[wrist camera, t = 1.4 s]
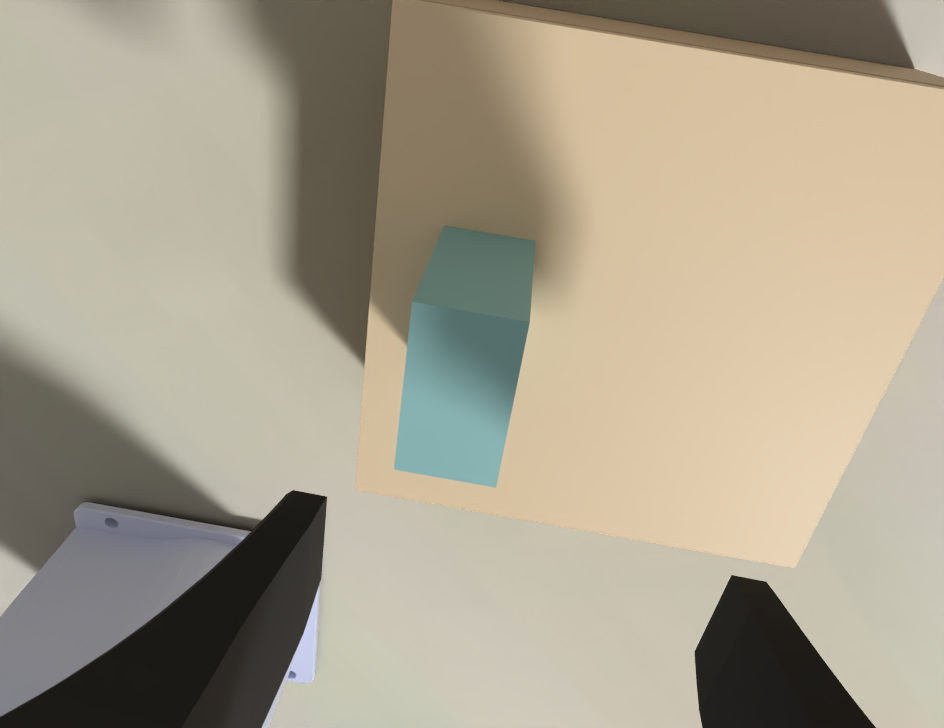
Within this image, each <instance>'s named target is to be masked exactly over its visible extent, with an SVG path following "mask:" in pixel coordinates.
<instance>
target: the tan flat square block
mask: <svg viewBox="0 0 944 728" xmlns="http://www.w3.org/2000/svg"><path fill="white" fill-rule="evenodd" d="M943 278H944V87H940V86H934V85H928V84H922V83H916V82H910V81H904V80H898V79H892V78H886V77H880V76H874V75H868V74H862V73H856V72H850V71H844V70H838V69H831V68H825V67H819V66H813V65H807V64H801V63H795V62H789V61H783V60H777V59H771V58H765V57H759V56H753V55H747V54H741V53H735V52H729V51H723V50H717V49H711V48H705V47H698V46H692V45H686V44H680V43H674V42H668V41H662V40H656V39H650V38H644V37H638V36H632V35H626V34H620V33H614V32H608V31H602V30H596V29H590V28H584V27H578V26H571V25H565V24H559V23H553V22H547V21H541V20H535V19H529V18H523V17H517V16H511V15H505V14H499V13H493V12H487V11H481V10H475V9H469V8H463V7H457V6H451V5H444V4H438V3H432V2H426V1H420V0H392V12H391V25H390V38H389V52H388V65H387V78H386V91H385V104H384V117H383V130H382V143H381V156H380V170H379V183H378V196H377V209H376V222H375V235H374V248H373V261H372V275H371V288H370V301H369V314H368V327H367V340H366V353H365V366H364V380H363V393H362V406H361V419H360V432H359V445H358V458H357V471H356V484H355V490H357V491H363V492H369V493H374V494H380V495H385V496H391V497H397V498H402V499H408V500H414V501H419V502H425V503H430V504H436V505H442V506H447V507H453V508H458V509H464V510H470V511H475V512H481V513H486V514H492V515H498V516H503V517H509V518H515V519H520V520H526V521H531V522H537V523H543V524H548V525H554V526H559V527H565V528H571V529H576V530H582V531H587V532H593V533H599V534H604V535H610V536H616V537H621V538H627V539H632V540H638V541H644V542H649V543H655V544H660V545H666V546H672V547H677V548H683V549H689V550H694V551H700V552H705V553H711V554H717V555H722V556H728V557H733V558H739V559H745V560H750V561H756V562H761V563H767V564H773V565H778V566H784V567H790V568H795V567H796V565H797V563H798V561H799V559H800V557H801V555H802V553H803V551H804V549H805V547H806V545H807V543H808V541H809V539H810V538H811V536H812V534H813V532H814V530H815V528H816V526H817V524H818V522H819V520H820V518H821V516H822V514H823V512H824V510H825V508H826V506H827V504H828V502H829V500H830V499H831V497H832V495H833V493H834V491H835V489H836V487H837V485H838V483H839V481H840V479H841V477H842V475H843V473H844V471H845V469H846V467H847V465H848V463H849V461H850V460H851V458H852V456H853V454H854V452H855V450H856V448H857V446H858V444H859V442H860V440H861V438H862V436H863V434H864V432H865V430H866V428H867V426H868V424H869V422H870V421H871V419H872V417H873V415H874V413H875V411H876V409H877V407H878V405H879V403H880V401H881V399H882V397H883V395H884V393H885V391H886V389H887V387H888V385H889V383H890V382H891V380H892V378H893V376H894V374H895V372H896V370H897V368H898V366H899V364H900V362H901V360H902V358H903V356H904V354H905V352H906V350H907V348H908V346H909V344H910V343H911V341H912V339H913V337H914V335H915V333H916V331H917V329H918V327H919V325H920V323H921V321H922V319H923V317H924V315H925V313H926V311H927V309H928V307H929V305H930V304H931V302H932V300H933V298H934V296H935V294H936V292H937V290H938V288H939V286H940V284H941V282H942V280H943Z"/></svg>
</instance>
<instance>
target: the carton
mask: <svg viewBox="0 0 944 728" xmlns="http://www.w3.org/2000/svg"><path fill="white" fill-rule="evenodd" d="M420 1H426V2H432V3H438V4H444V5H451V6H457V7H463V8H469V9H475V10H481V11H487V12H493V13H499V14H505V15H511V16H517V17H523V18H529V19H535V20H541V21H547V22H553V23H559V24H565V25H571V26H578V27H584V28H590V29H596V30H602V31H608V32H614V33H620V34H626V35H632V36H638V37H644V38H650V39H656V40H662V41H668V42H674V43H680V44H686V45H692V46H698V47H705V48H711V49H717V50H723V51H729V52H735V53H741V54H747V55H753V56H759V57H765V58H771V59H777V60H783V61H789V62H795V63H801V64H807V65H813V66H819V67H825V68H831V69H838V70H844V71H850V72H856V73H862V74H868V75H874V76H880V77H886V78H892V79H898V80H904V81H910V82H916V83H922V84H928V85H934V86H940V87H944V78H943V77H940V76H936V75H933V74H930V73H926V72H923V71H919V70H916V69H910V68H904V67H898V66H892V65H886V64H880V63H874V62H868V61H862V60H856V59H849V58H843V57H837V56H831V55H825V54H819V53H813V52H807V51H801V50H795V49H789V48H783V47H777V46H771V45H765V44H759V43H753V42H746V41H740V40H734V39H728V38H722V37H716V36H710V35H704V34H698V33H692V32H686V31H680V30H674V29H668V28H662V27H656V26H650V25H643V24H637V23H631V22H625V21H619V20H613V19H607V18H601V17H595V16H589V15H583V14H577V13H571V12H565V11H559V10H553V9H547V8H540V7H534V6H528V5H522V4H516V3H510V2H504V1H498V0H420Z"/></svg>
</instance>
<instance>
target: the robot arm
mask: <svg viewBox="0 0 944 728" xmlns="http://www.w3.org/2000/svg"><path fill="white" fill-rule="evenodd" d="M326 503H327V497H325V496H320V495H315V494H310V493H305V492H299V491H294V490H293V491H291V492H289V493H288V494H286V495H285V496H284V498H283V499H282V500H281V501H280V502H279V503H278V504H277V505H276V506H275V507H274V508H273V510H272V511H271V512H270V513H269V514H268V515H267V516H266V517H265V518H264V519H263V520H262V521H261V522H260V523H259V524H258V525H257V526H256V527H255V528H254V529H253V530H252V531H246V530H240V529H235V528H229V527H224V526H218V525H213V524H207V523H202V522H196V521H190V520H185V519H179V518H174V517H168V516H163V515H157V514H151V513H146V512H140V511H135V510H129V509H124V508H118V507H112V506H107V505H101V504H96V503H90V502H84V503H81V504H80V505H79V506H78V507H77V508H76V510H75V511H74V520H75V526H76V528H75V529H74V530H73V531H72V533H71V534H70V535H69V536H68V537H67V538H66V540H65V541H64V542H63V543H62V544H61V545H60V547H59V548H58V549H57V550H56V551H55V553H54V554H53V555H52V556H51V557H50V558H49V560H48V561H47V562H46V563H45V564H44V566H43V567H42V568H41V569H40V570H39V571H38V573H37V574H36V575H35V576H34V577H33V579H32V580H31V581H30V582H29V583H28V584H27V586H26V587H25V588H24V589H23V590H22V591H21V593H20V594H19V595H18V596H17V597H16V599H15V600H14V601H13V602H12V603H11V604H10V606H9V607H8V608H7V609H6V610H5V612H4V613H3V614H2V615H1V616H0V728H269V726H270V723H271V720H272V718H273V715H274V712H275V710H276V707H277V704H278V701H279V699H280V696H281V693H282V691H283V688H284V685H285V683H286V681H292V682H297V683H305V684H306V683H310V682H311V681H313V679H314V676H315V673H316V659H317V639H318V618H319V597H320V581H321V572H322V558H323V545H324V531H325V517H326ZM114 519H115V520H114ZM695 664H696V679H697V691H698V701H699V711H700V716H701V722H702V727H703V728H876V727H875V726H874V725H873V724H872V722H871V721H870V720H869V719H868V717H867V716H866V715H865V714H864V712H863V711H862V710H861V709H860V707H859V706H858V705H857V704H856V702H855V701H854V700H853V699H852V697H851V696H850V695H849V693H848V692H847V691H846V690H845V688H844V687H843V686H842V684H841V683H840V682H839V680H838V679H837V678H836V676H835V675H834V674H833V672H832V671H831V670H830V668H829V667H828V666H827V664H826V663H825V662H824V660H823V659H822V658H821V656H820V655H819V654H818V652H817V651H816V649H815V648H814V647H813V645H812V644H811V643H810V641H809V640H808V638H807V637H806V636H805V634H804V633H803V632H802V630H801V629H800V627H799V626H798V625H797V623H796V622H795V620H794V619H793V618H792V616H791V615H790V613H789V612H788V611H787V609H786V608H785V607H784V605H783V604H782V602H781V601H780V600H779V598H778V597H777V596H776V594H775V593H774V592H773V590H772V589H771V588H770V586H769V585H768V584H767V582H764V581H759V580H754V579H748V578H743V577H738V576H733V575H732V576H731V578H730V580H729V582H728V584H727V586H726V588H725V590H724V592H723V594H722V596H721V598H720V600H719V602H718V605H717V607H716V609H715V611H714V613H713V615H712V617H711V619H710V621H709V623H708V625H707V627H706V629H705V631H704V633H703V636H702V638H701V640H700V642H699V644H698V646H697V648H696V650H695Z"/></svg>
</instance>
